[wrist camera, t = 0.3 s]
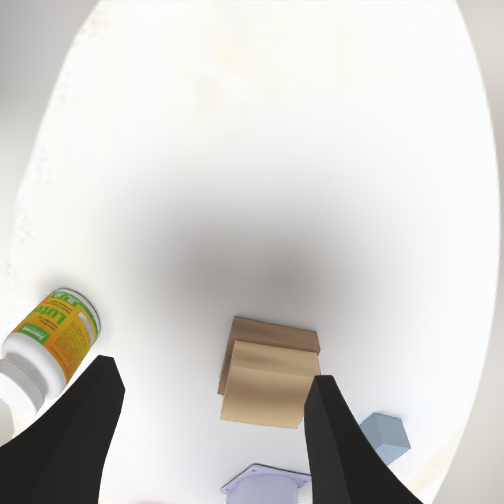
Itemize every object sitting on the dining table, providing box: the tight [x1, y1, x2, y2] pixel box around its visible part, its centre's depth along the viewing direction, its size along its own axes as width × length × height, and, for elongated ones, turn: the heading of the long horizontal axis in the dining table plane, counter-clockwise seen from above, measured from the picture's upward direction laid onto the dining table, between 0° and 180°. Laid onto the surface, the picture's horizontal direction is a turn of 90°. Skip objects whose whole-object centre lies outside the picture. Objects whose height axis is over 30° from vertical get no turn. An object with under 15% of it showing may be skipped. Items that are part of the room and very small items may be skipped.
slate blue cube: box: [359, 413, 411, 466], centre depth 25 cm, size 4×4×4 cm
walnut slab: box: [218, 317, 320, 395], centre depth 22 cm, size 6×6×2 cm
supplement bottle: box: [0, 289, 100, 417], centre depth 18 cm, size 5×5×10 cm
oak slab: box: [220, 340, 321, 429], centre depth 20 cm, size 6×6×2 cm
